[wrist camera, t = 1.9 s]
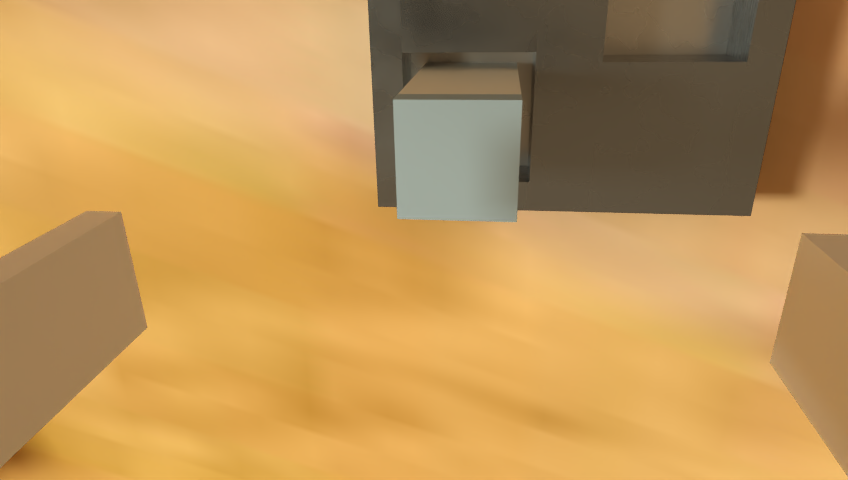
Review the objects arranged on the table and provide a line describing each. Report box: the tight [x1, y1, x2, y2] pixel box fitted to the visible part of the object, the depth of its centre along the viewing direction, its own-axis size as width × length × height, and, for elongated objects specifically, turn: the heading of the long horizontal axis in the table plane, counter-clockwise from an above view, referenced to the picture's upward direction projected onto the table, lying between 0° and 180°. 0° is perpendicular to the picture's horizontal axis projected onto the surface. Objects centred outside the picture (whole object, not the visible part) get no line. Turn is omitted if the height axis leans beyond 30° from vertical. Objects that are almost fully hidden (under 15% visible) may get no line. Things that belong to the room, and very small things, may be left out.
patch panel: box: [368, 0, 796, 216], centre depth 25 cm, size 16×13×3 cm
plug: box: [393, 62, 522, 222], centre depth 24 cm, size 4×4×9 cm
